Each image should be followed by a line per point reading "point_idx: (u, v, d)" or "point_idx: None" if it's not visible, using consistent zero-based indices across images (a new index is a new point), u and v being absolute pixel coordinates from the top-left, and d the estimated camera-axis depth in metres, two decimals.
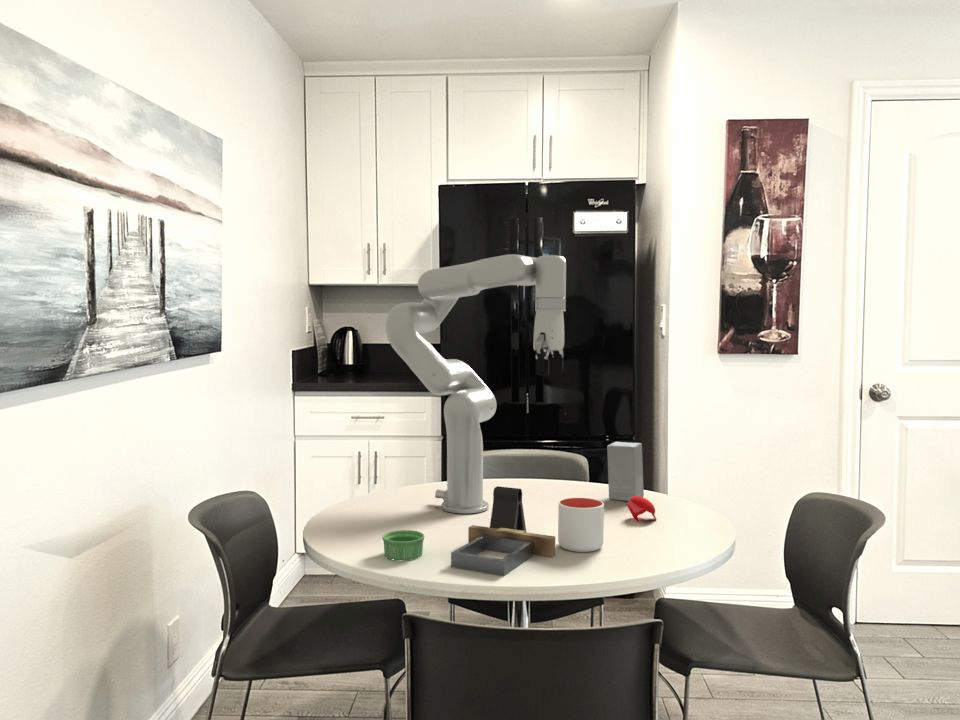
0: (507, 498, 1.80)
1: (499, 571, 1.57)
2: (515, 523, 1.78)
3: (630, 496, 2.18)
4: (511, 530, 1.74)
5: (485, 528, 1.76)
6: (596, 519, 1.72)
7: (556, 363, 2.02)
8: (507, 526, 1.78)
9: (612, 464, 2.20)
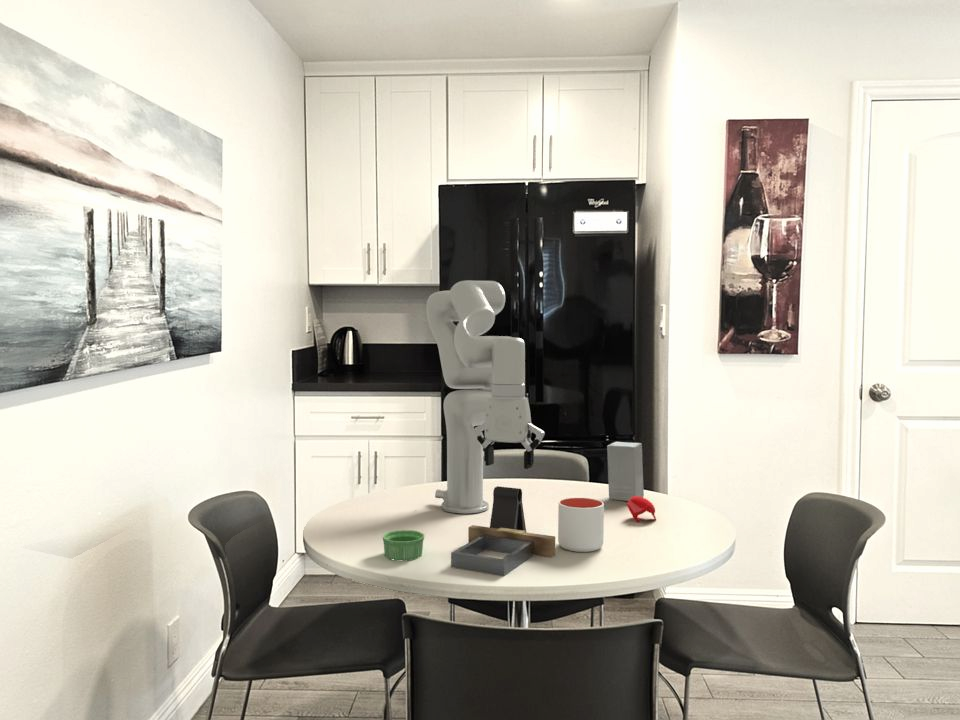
0: (507, 498, 1.80)
1: (499, 571, 1.57)
2: (515, 523, 1.78)
3: (630, 496, 2.18)
4: (511, 530, 1.74)
5: (485, 528, 1.76)
6: (596, 519, 1.72)
7: (491, 454, 1.82)
8: (507, 526, 1.78)
9: (612, 464, 2.20)
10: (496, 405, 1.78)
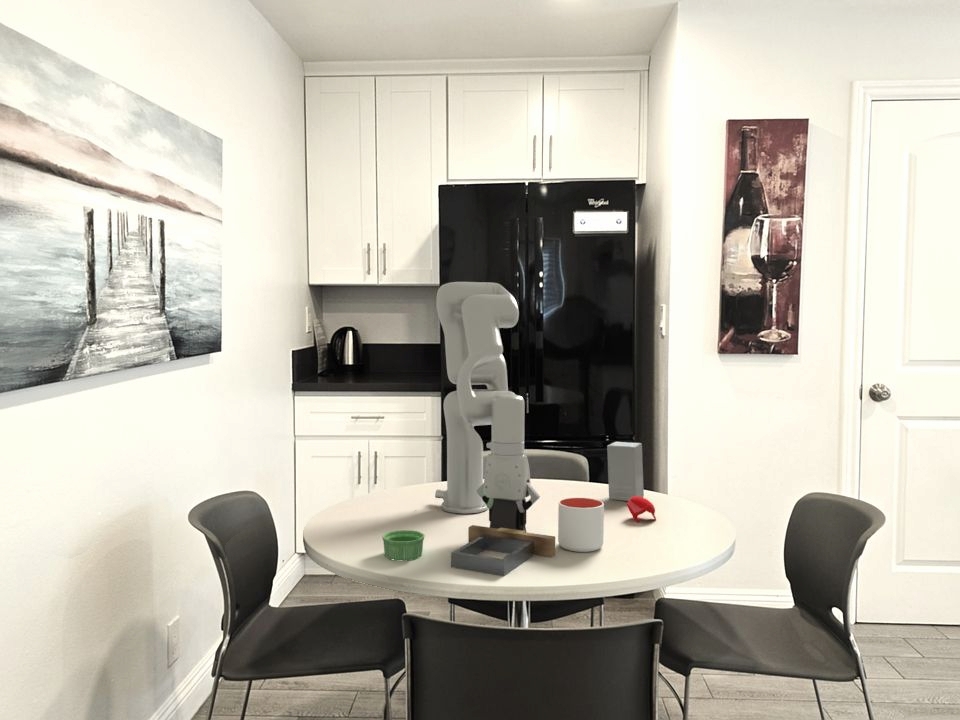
0: None
1: (499, 571, 1.57)
2: (515, 523, 1.78)
3: (630, 496, 2.18)
4: (511, 530, 1.74)
5: (485, 528, 1.76)
6: (596, 519, 1.72)
7: None
8: (507, 526, 1.78)
9: (612, 464, 2.20)
10: (495, 463, 1.79)
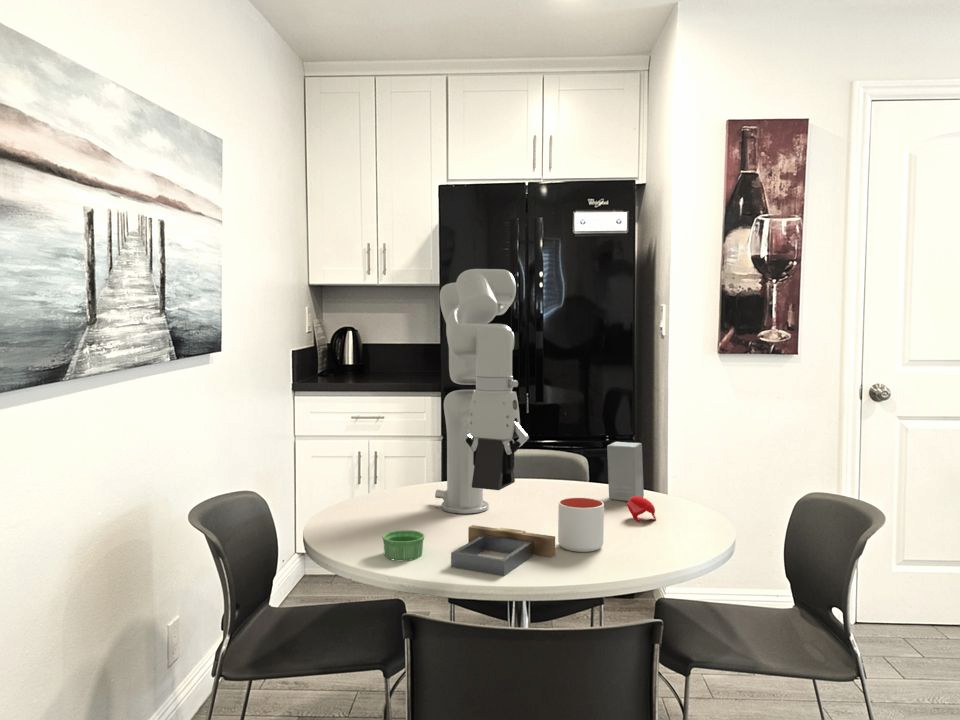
0: None
1: (499, 571, 1.57)
2: None
3: (630, 496, 2.18)
4: (511, 530, 1.74)
5: (485, 528, 1.76)
6: (596, 519, 1.72)
7: None
8: None
9: (612, 464, 2.20)
10: None
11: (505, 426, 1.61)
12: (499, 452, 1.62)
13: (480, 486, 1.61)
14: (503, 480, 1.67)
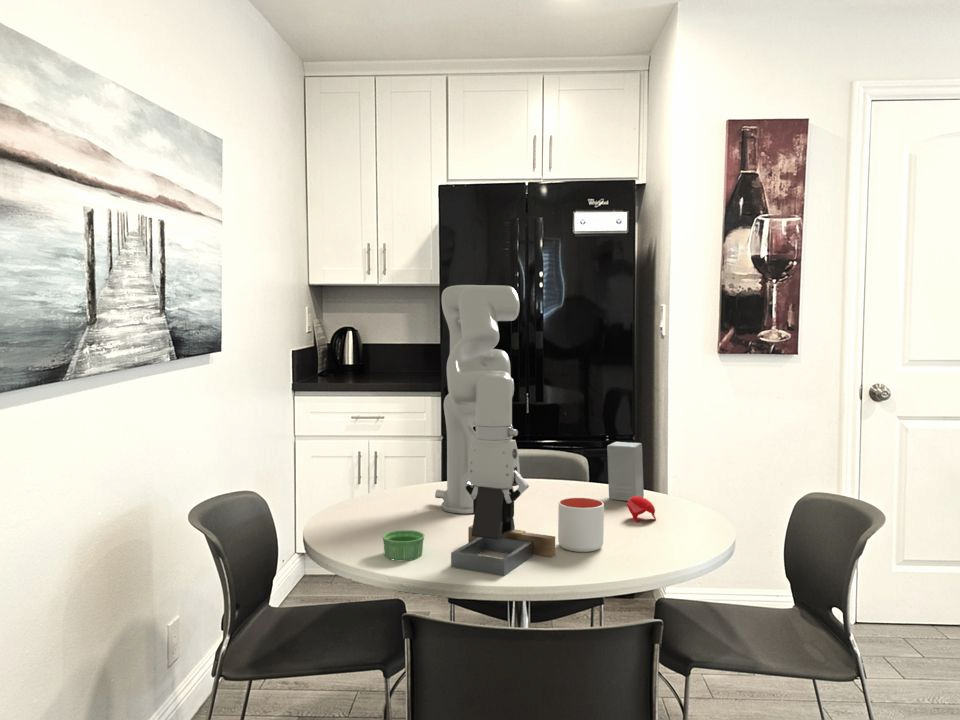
0: None
1: (499, 571, 1.57)
2: None
3: (630, 496, 2.18)
4: None
5: None
6: (596, 519, 1.72)
7: None
8: None
9: (612, 464, 2.20)
10: None
11: (505, 475, 1.61)
12: (499, 501, 1.62)
13: (480, 535, 1.62)
14: (503, 527, 1.67)
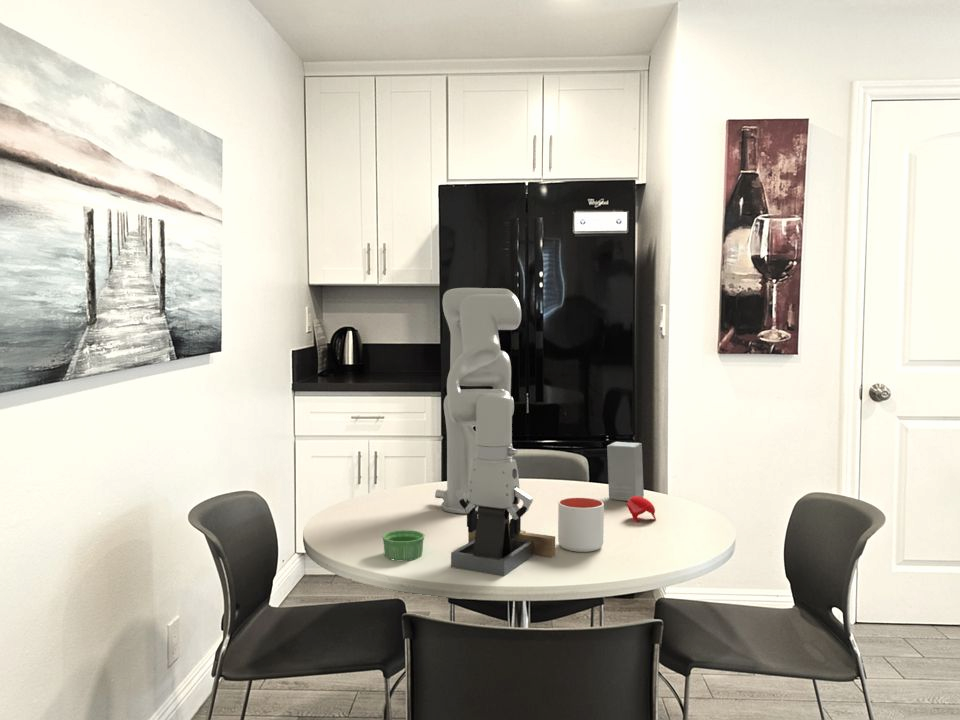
0: None
1: (499, 571, 1.57)
2: None
3: (630, 496, 2.18)
4: None
5: None
6: (596, 519, 1.72)
7: None
8: None
9: (612, 464, 2.20)
10: None
11: (505, 495, 1.61)
12: (499, 530, 1.63)
13: None
14: (503, 555, 1.68)
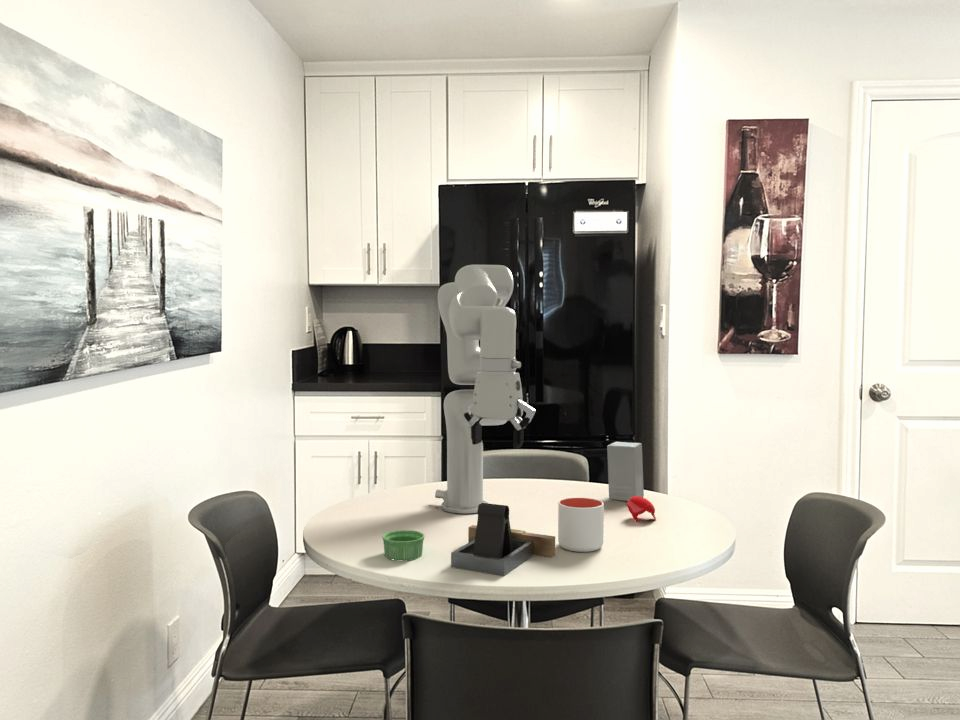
0: None
1: (499, 571, 1.57)
2: None
3: (630, 496, 2.18)
4: (511, 530, 1.74)
5: None
6: (596, 519, 1.72)
7: None
8: None
9: (612, 464, 2.20)
10: None
11: (508, 406, 1.65)
12: (499, 530, 1.63)
13: None
14: (503, 555, 1.68)
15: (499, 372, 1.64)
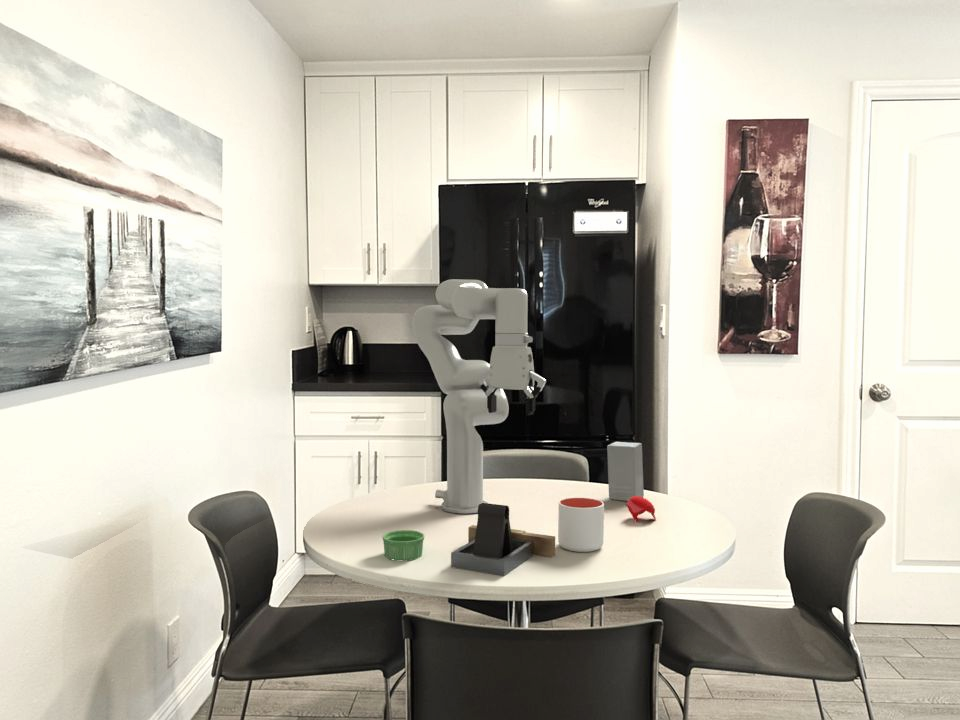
0: None
1: (499, 571, 1.57)
2: None
3: (630, 496, 2.18)
4: (511, 530, 1.74)
5: None
6: (596, 519, 1.72)
7: None
8: None
9: (612, 464, 2.20)
10: None
11: (521, 376, 1.82)
12: (499, 530, 1.63)
13: None
14: (503, 555, 1.68)
15: (513, 346, 1.82)
